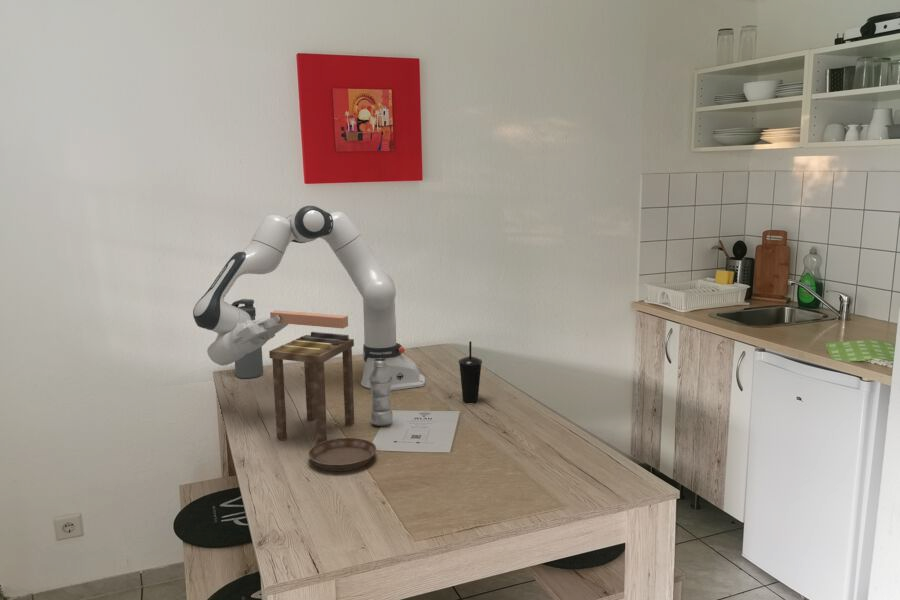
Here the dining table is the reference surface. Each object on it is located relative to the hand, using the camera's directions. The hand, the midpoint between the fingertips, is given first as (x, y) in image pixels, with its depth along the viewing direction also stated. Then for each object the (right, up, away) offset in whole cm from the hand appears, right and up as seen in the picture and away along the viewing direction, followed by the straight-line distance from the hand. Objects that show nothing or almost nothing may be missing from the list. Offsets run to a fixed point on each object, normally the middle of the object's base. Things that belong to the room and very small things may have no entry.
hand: (284, 315), depth 207 cm
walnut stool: (+10, -34, -2) cm, 35 cm away
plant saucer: (+20, -38, -21) cm, 48 cm away
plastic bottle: (+28, -33, +3) cm, 43 cm away
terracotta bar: (+8, -2, -2) cm, 8 cm away
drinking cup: (+55, -28, +23) cm, 66 cm away
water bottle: (-25, -23, +52) cm, 62 cm away
